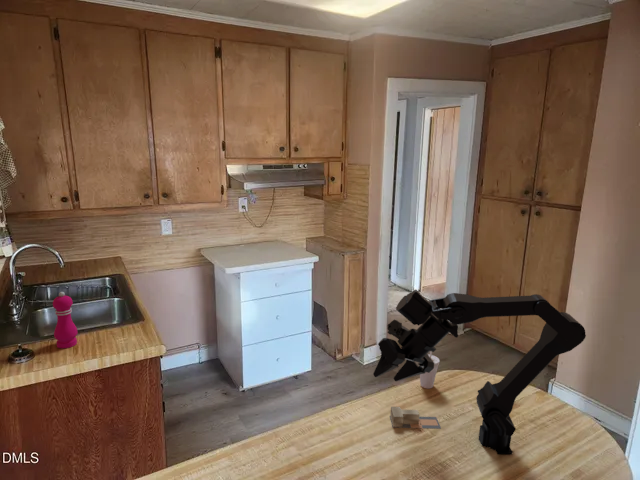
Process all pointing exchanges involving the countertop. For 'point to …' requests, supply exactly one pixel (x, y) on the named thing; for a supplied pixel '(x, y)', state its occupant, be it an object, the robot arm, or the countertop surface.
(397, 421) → the t block
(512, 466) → the countertop surface
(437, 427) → the mat
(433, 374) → the smoothie
